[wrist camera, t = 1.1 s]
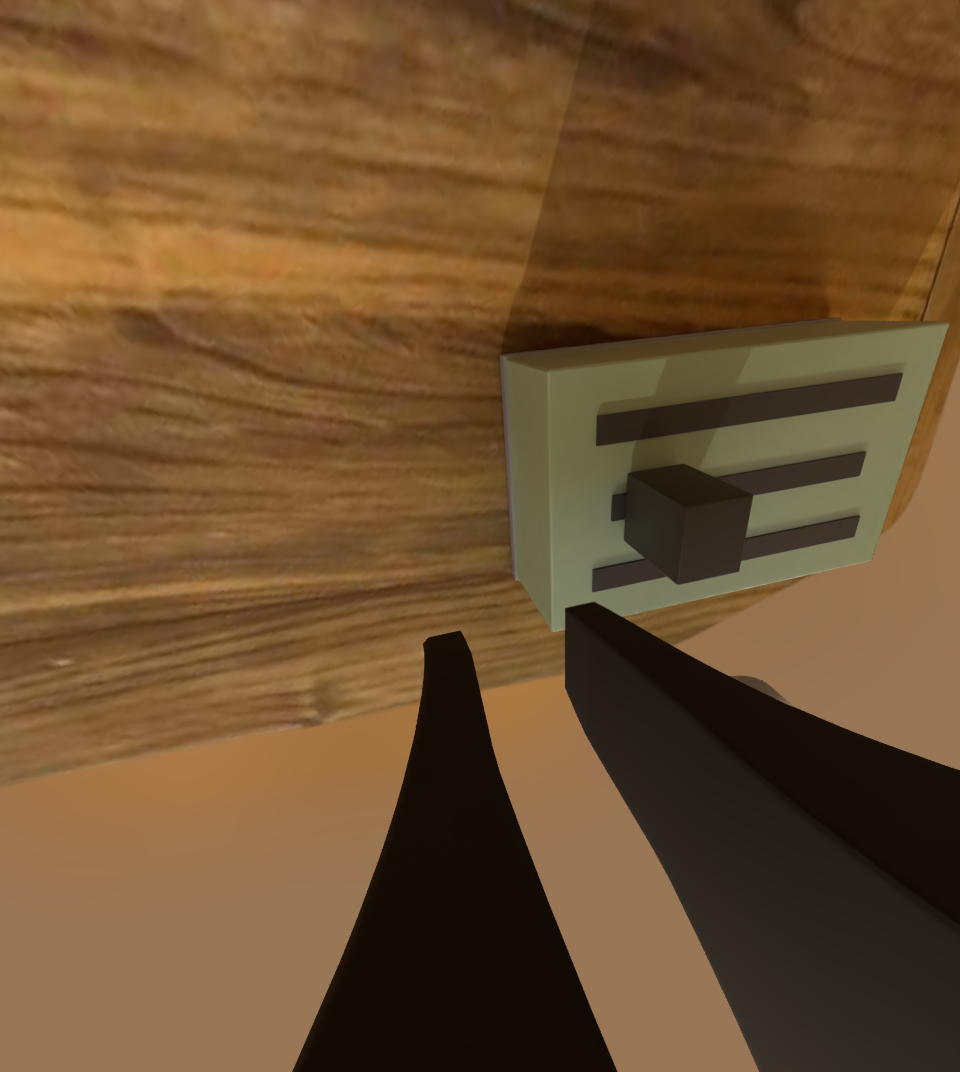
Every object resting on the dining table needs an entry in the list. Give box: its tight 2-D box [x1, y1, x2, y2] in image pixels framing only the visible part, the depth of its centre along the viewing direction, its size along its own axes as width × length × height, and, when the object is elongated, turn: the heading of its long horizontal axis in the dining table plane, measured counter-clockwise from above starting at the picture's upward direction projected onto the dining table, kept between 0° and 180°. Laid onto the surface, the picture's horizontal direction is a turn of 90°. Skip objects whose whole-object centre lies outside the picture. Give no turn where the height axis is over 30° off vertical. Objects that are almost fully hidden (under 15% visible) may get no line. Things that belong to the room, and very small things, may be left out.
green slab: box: [500, 318, 949, 632], centre depth 18 cm, size 9×14×5 cm, turn 95°
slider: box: [624, 464, 753, 585], centre depth 14 cm, size 2×2×3 cm
